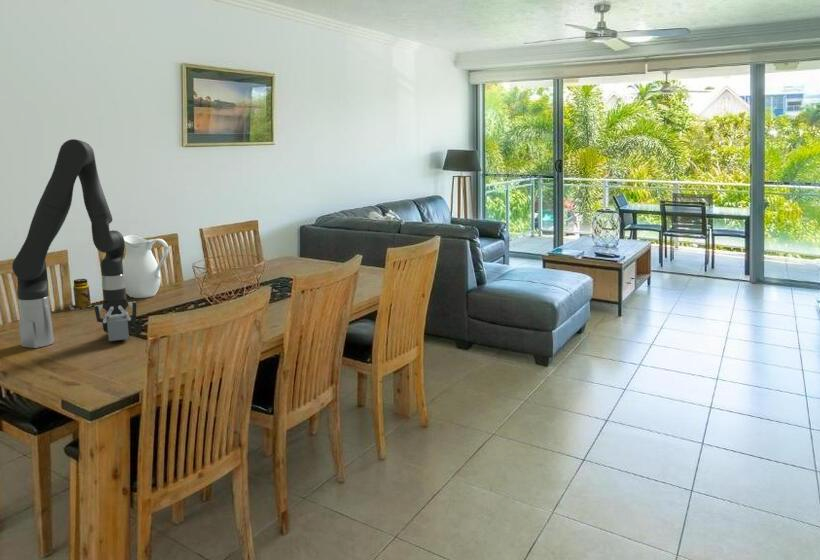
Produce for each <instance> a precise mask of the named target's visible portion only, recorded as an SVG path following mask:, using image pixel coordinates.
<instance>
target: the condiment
mask: <svg viewBox="0 0 820 560" xmlns="http://www.w3.org/2000/svg"><path fill="white" fill-rule="evenodd" d="M72 289H73V297H74V304H71V305H68V307H69V309H70V310H72V311H73V310H80V308H82V309H86V308H85V307H89V306H93V305H92V303H91V296H90V295H91V294H90V285H88V279H86V278H78V279H77V278H76V279H74V280H73V288H72ZM72 307H73V308H72ZM75 308H76V309H75Z"/></svg>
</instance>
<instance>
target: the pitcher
mask: <svg viewBox="0 0 820 560" xmlns="http://www.w3.org/2000/svg"><path fill="white" fill-rule="evenodd" d="M123 238H124V241H125V248H126V249H125V256H124V257H123V261H122V265H123V275H124V279H125V288H126V295H128V297H130V298H132V297H133V298H132V299H146V298H151V297H154V296H155V295H156V294H157V292H158V291H159V289H160V285H161V281H162V277H161V276H162V275H161V270H160V269H161V267H162V265H163V264H164V262H165V261H166V259H167V257H168V255H169V250H170V249H169V245H168V243H167V242H166V241H165V240H164V239H163V238H154V239H153V238H152V239H145V238H143V237H140V236H138V235H137V234H136V235H135V234H128V235H125V236H123ZM155 243H159V244H161V245H162V246H163V250H164V251H163V256H162V258H161V259H160V261H159V262H157V260H156V258H155V255H154V254H153V252H152V248H153V245H154V244H155Z"/></svg>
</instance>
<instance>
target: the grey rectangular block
mask: <svg viewBox="0 0 820 560" xmlns="http://www.w3.org/2000/svg"><path fill="white" fill-rule="evenodd" d="M107 328H108V333H107V334H108V342H113V341H122V340H123V341H124V340H129V339H130V334H129V333H130V332H129V330H128V321H127V317H125V316H124V315H123V313H122V314H115V315H110V316H109V318H108V319H107Z"/></svg>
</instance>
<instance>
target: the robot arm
mask: <svg viewBox="0 0 820 560" xmlns="http://www.w3.org/2000/svg"><path fill="white" fill-rule="evenodd" d="M77 178H78V179H79V182H80V185H81V190H82V197H83V203H84V207H85V209H86V212H87V216H88V218H89V221H90V224H91V236H92V237H91V238H92V242H93V244H94V246H95V248H96V249H97V250H98V251H99V252H101V253H103V254H104V253H105V256H104V258H103V259H102V260H101V261H100V269H101V289H102V299H103V303H102V304H94V307H93V308H94V312H95V317H96V322H97V323H102V327H103V328H102V329H103V332H105V333H106V334H108V328H107V319H108V318H109V316H110V315H115V314H122V313H123V315H124V316H125V317H127V321H128V331H131V329H132V327H133V326H132V320H133V319H136V318H137V301H135V300H134V301H128V299H127V293H126V288H125V279H124V275H123V262H124V254H125V248H126V246H125V241H124V238H123V237H124V236H123V234H122V233H121V232H120V231H118V230H114V229H113V230H110V224H112V222H113V216H112V213H111V210H110V208H109V204H108V201H107V198H106V196H105V193H104V190H103V188H102V184H101V180H100V178H99V173H98V169H97V163H96V157H95V151H94V149H93V148H92V146H91V145H90V144H89V143H87V142H86V141H83V140H81V139H76V138H75V139H74V138H73V139H72V138H71V139H68V140H66V141H65V142H63V143H62V144H61V146H60V149H59V151H58V154H57V158H56V161H55V164H54V168H53V171H52V174H51V175H50V178H49V180H48V182H47V183H46V186H45V189H44V191H43V192H42V195H41V196H40V199H39V201H38V204H37V206H36V208H35V211H34V215H33V217H32V220H31V222H30V225H29V229H28V231H27V235H26V237H25V241H24V242H23V244H22V246H21V248H20V250H19V252H18V253H17V255H16V257H15V258H14V259H13V261H12V265H11V266H12V267H11V268H12V272H13V274H14V276H15V277H16V278H17V292H16V293H17V302H18V308H19V316H20V318H19V320H18V329H19V335H20V338H19V339H20V344H21V347H24V348H30V349H37V348H42V347H46V346H49V345H52V344H54V342H55V337H54V329H53V323H52V313H51V305H50V297H49V296H50V295H49V279H48V277H49V276H48V269H47V262H46V258H47V254H48V251H49V249H50V247H51V245H52V243H53V241H54V239H55V238H56V237H57V235H58V234H59V232H60V230H61V229H62V227H63V225H64V223H65V221H66V219H67V216H68V214H69V212H70V209H71V206H72V201H73V196H74V195H73V192H74V188H75V183H76V181H77ZM128 306H129V307H130V309H131V311H132V312H131V314H129V313H128V311H127V308H128ZM102 309H104V310H105V311H106V312H105V314H104V316H103V318H102V317H101V314H100V313H101V311H102Z"/></svg>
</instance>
